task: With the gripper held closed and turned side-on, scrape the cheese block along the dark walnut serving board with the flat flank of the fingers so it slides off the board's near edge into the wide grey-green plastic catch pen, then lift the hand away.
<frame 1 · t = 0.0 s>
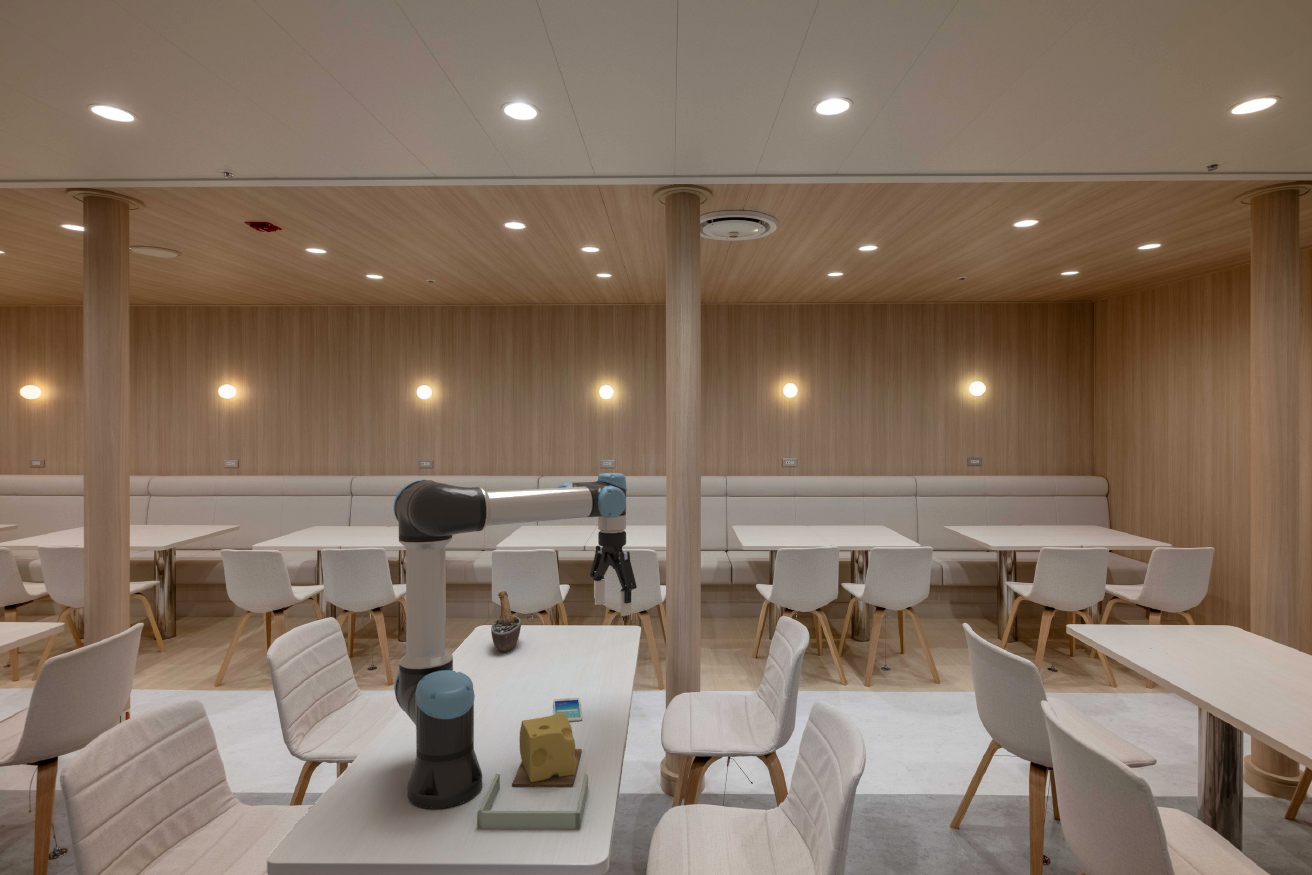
hand: (612, 609, 182), 28 cm above the table, fingers open, 13 cm apart
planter: (506, 648, 237), on the table
cheese: (547, 769, 151), resting on serving board
catch pen: (536, 805, 137), on the table
smartphone: (567, 712, 184), on the table
serving board: (548, 767, 152), on the table
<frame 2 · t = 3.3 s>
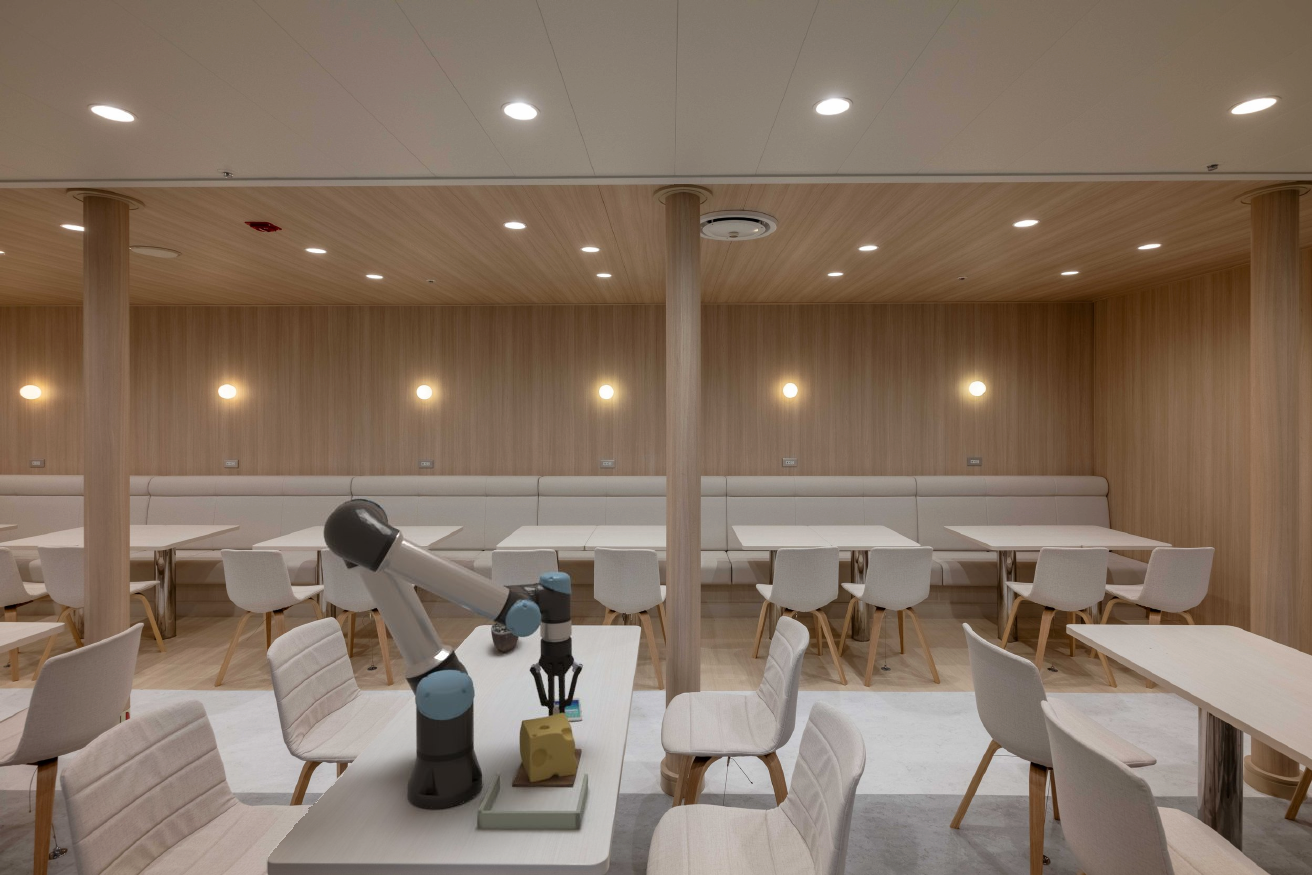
hand: (557, 733, 164), 2 cm above the table, fingers closed
nothing on the table moved.
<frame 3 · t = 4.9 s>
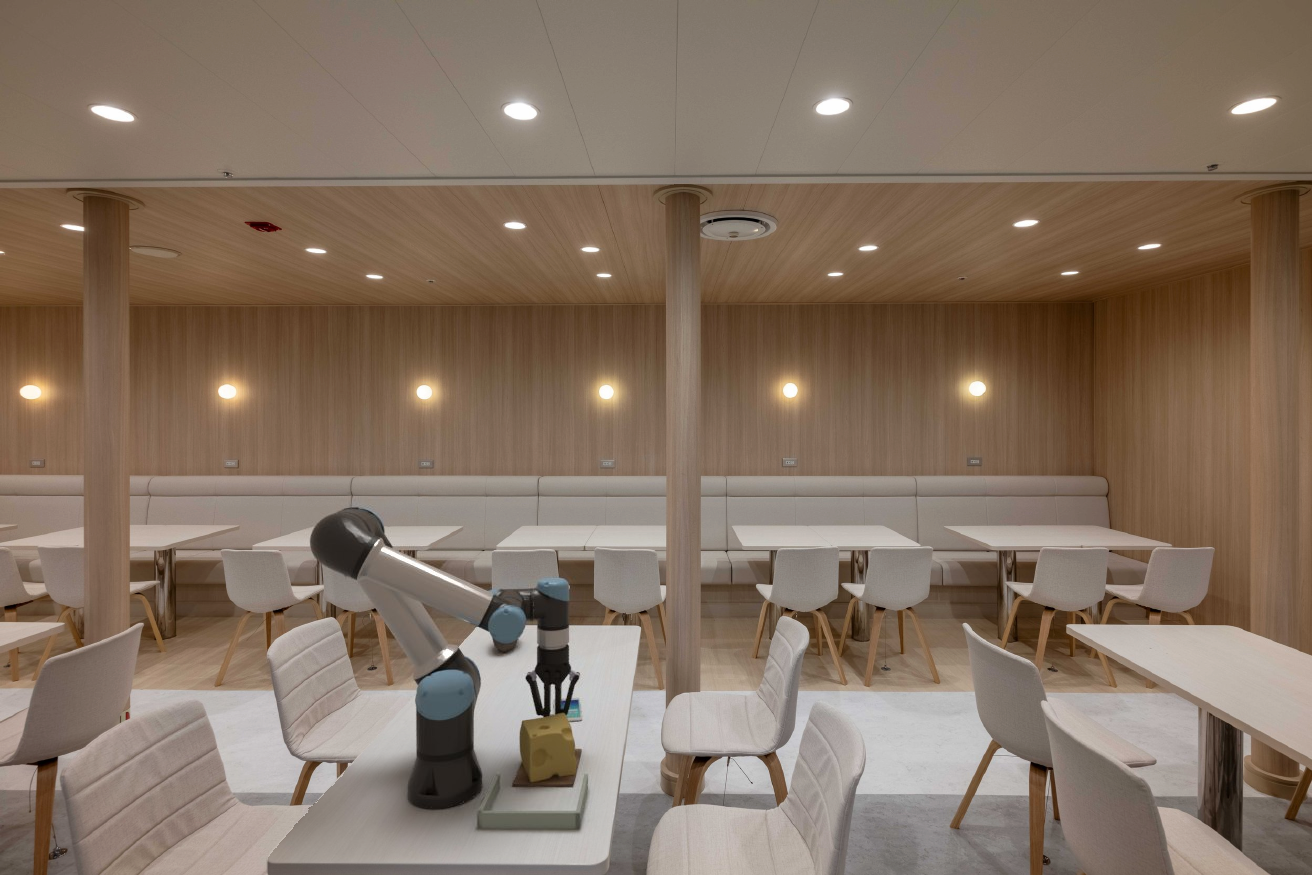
hand: (552, 743, 160), 2 cm above the table, fingers closed
nothing on the table moved.
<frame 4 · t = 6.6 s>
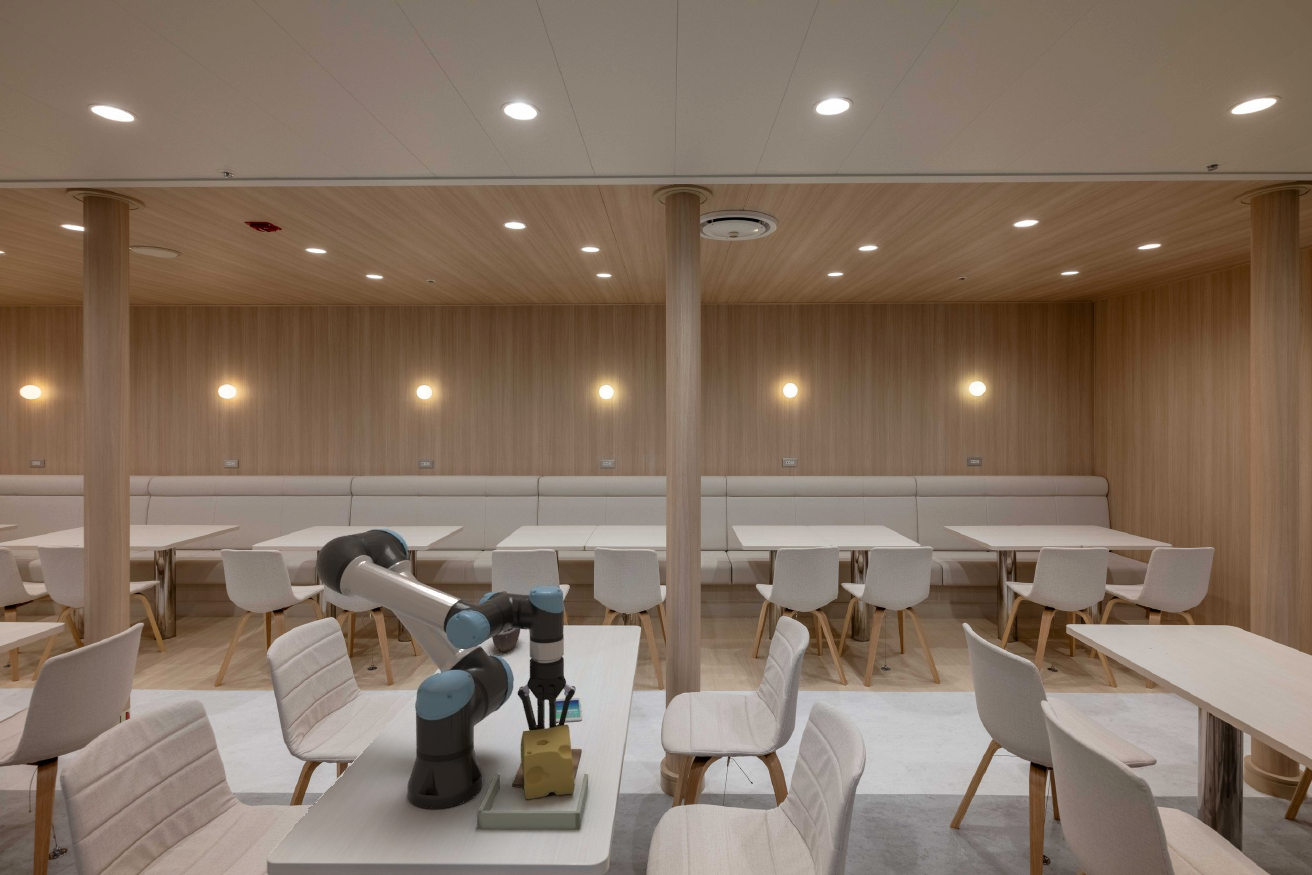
hand: (546, 762, 151), 2 cm above the table, fingers closed
cheese: (547, 783, 145), on the table, touching gripper, serving board
everything else where it was.
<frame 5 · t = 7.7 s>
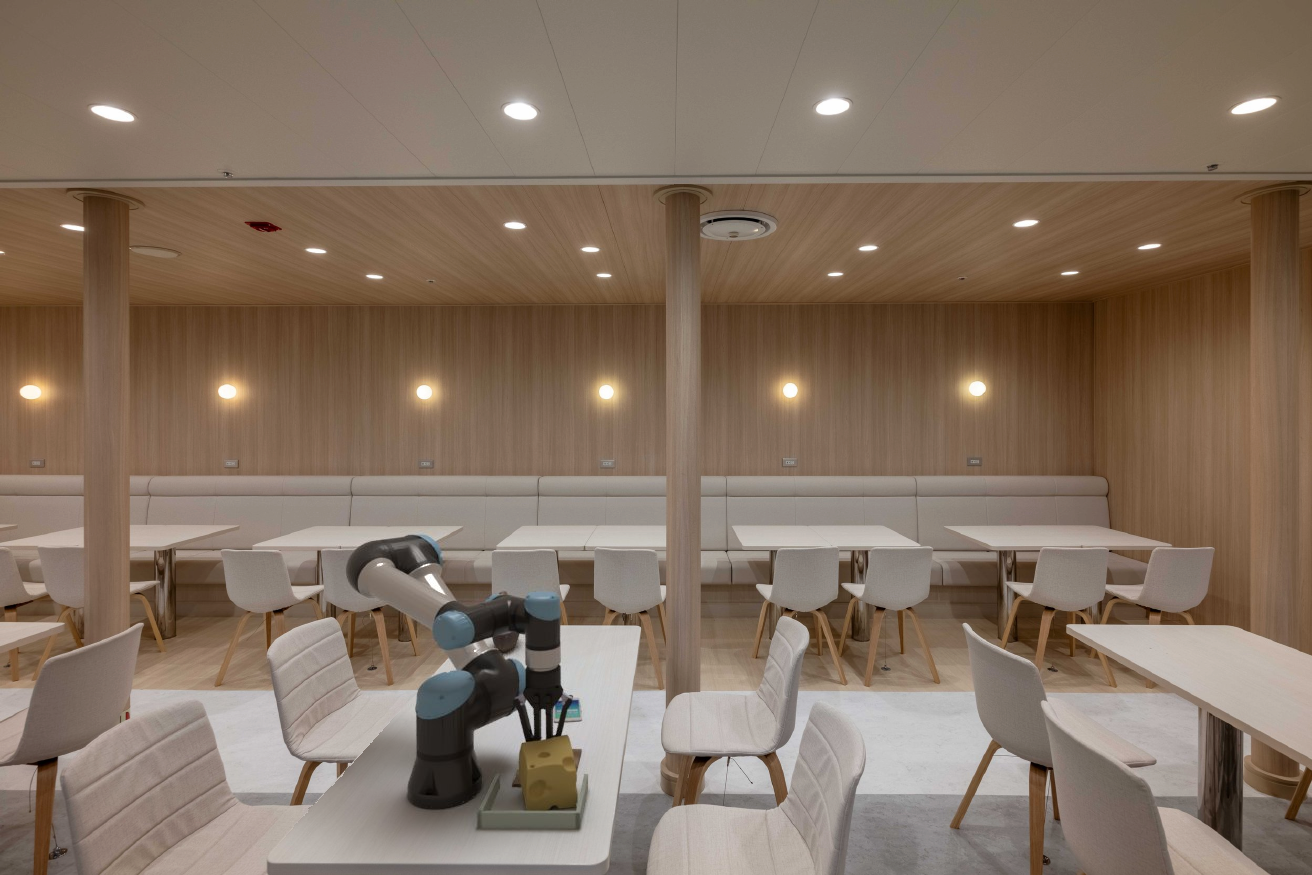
hand: (543, 773, 145), 2 cm above the table, fingers closed
cheese: (547, 796, 139), on the table, touching gripper, hand
everything else where it was.
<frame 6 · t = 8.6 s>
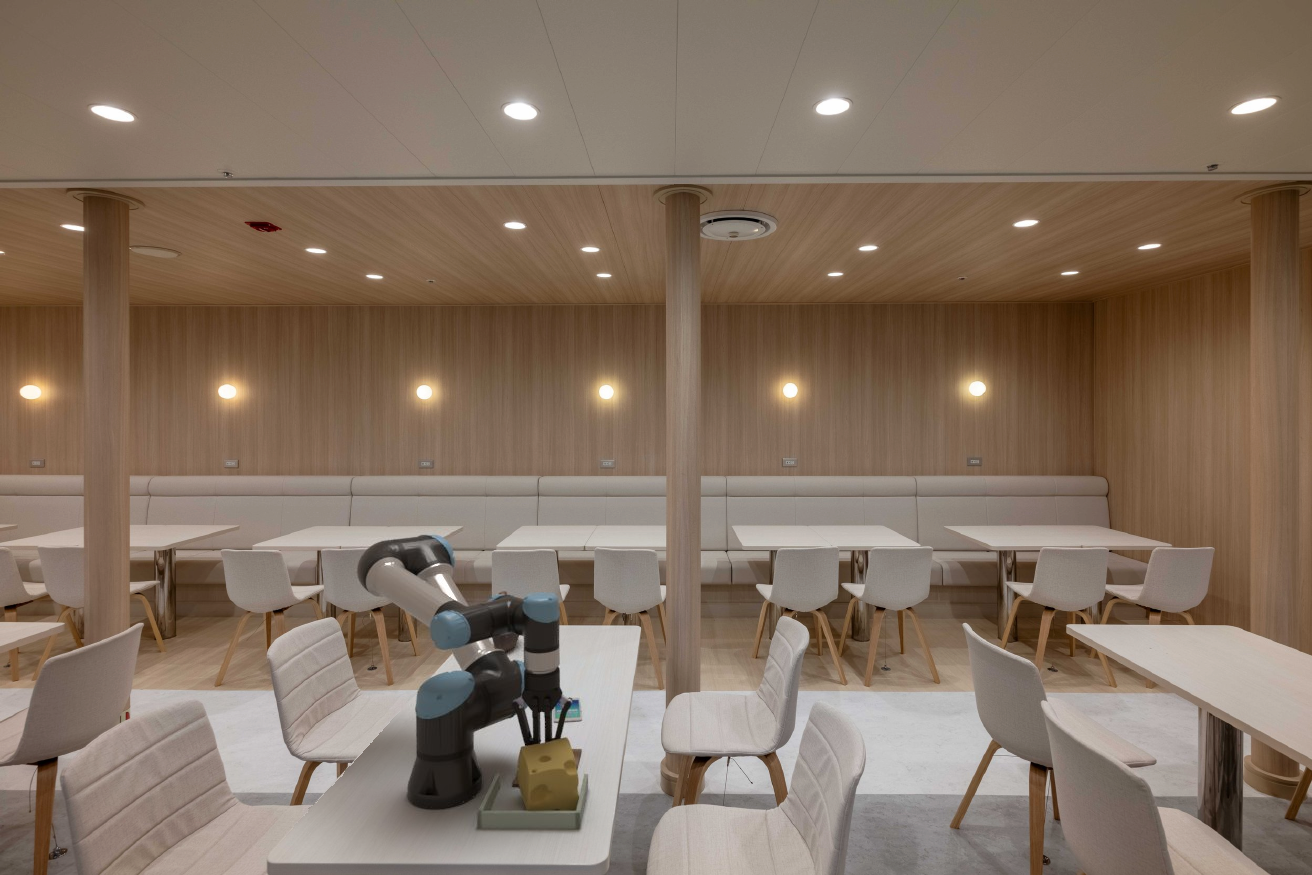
hand: (543, 777, 144), 2 cm above the table, fingers closed
cheese: (547, 800, 138), on the table, touching catch pen, gripper, hand
everything else where it was.
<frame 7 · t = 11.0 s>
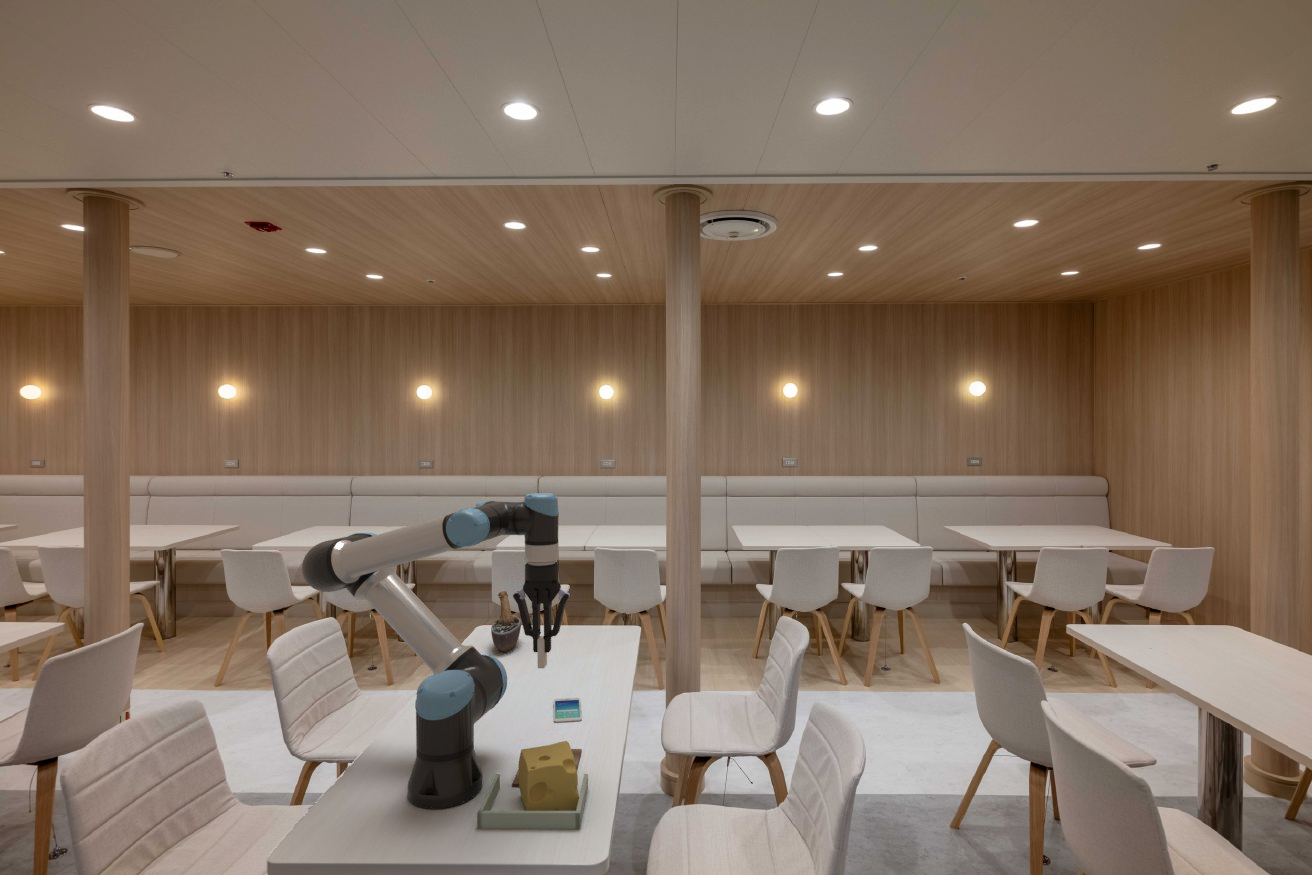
hand: (542, 666, 152), 23 cm above the table, fingers closed
cheese: (548, 803, 138), on the table
everything else where it was.
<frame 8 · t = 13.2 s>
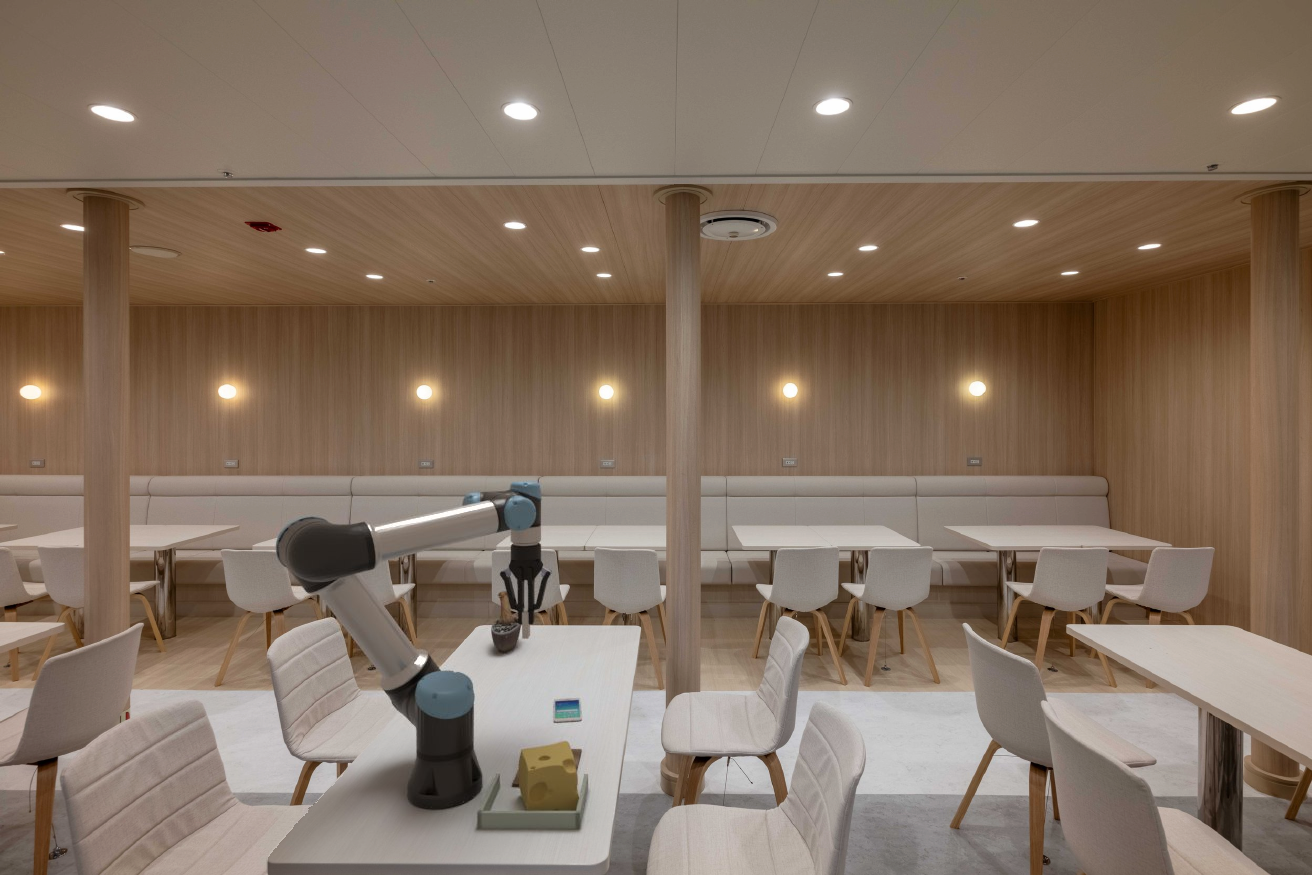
hand: (526, 636, 169), 24 cm above the table, fingers closed
nothing on the table moved.
at the end: cheese 2.6 cm from the catch pen (horizontally); cheese moved 12.9 cm from its start; cheese on the table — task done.
